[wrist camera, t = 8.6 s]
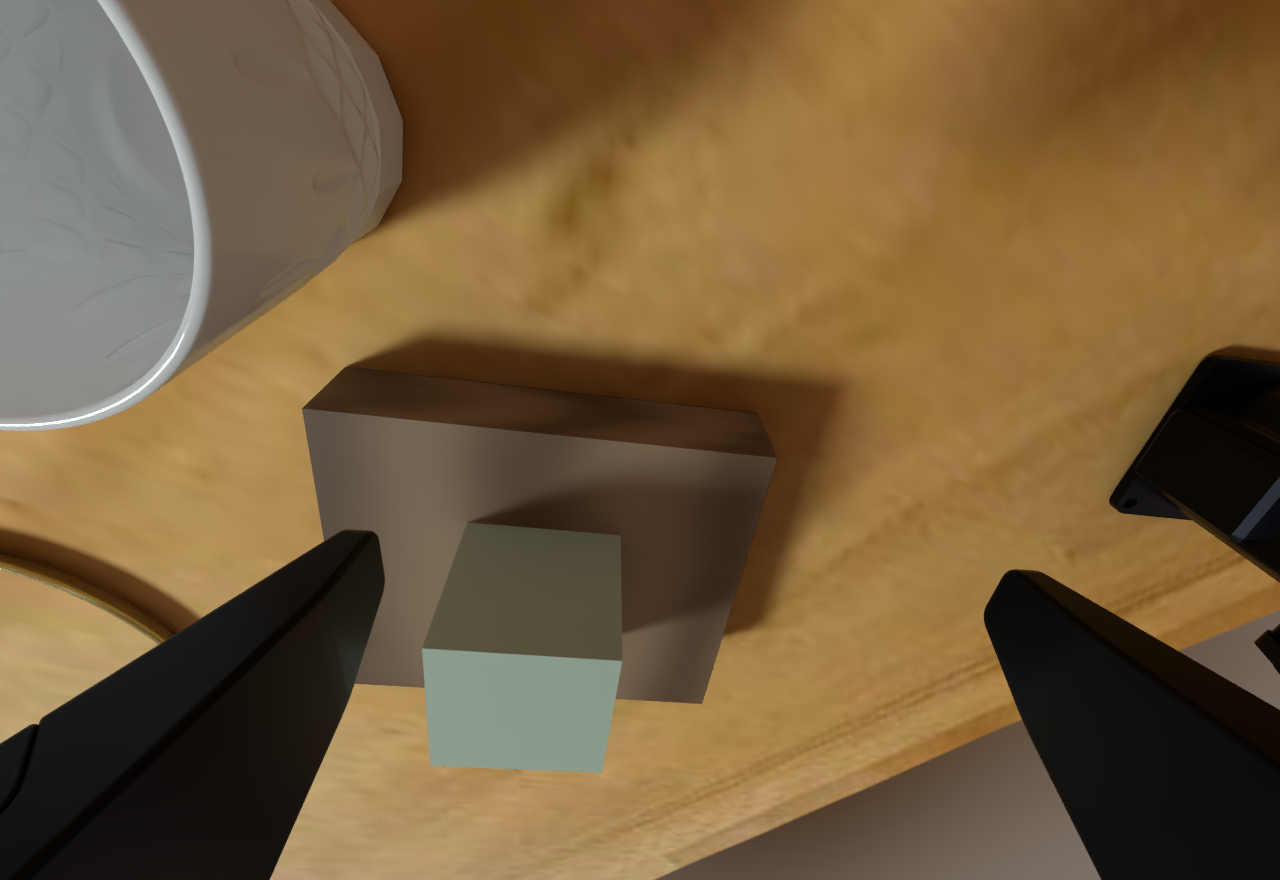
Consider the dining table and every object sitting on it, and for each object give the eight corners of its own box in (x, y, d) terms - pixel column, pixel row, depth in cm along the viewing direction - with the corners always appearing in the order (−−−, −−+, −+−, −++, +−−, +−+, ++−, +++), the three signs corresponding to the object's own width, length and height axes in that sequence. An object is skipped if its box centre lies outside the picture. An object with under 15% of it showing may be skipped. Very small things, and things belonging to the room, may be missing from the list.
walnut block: (756, 413, 20) (777, 458, 18) (693, 644, 26) (701, 703, 24) (345, 367, 19) (302, 408, 16) (375, 622, 25) (347, 683, 22)
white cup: (464, 38, 15) (248, -61, 6) (390, 312, 18) (185, 500, 9) (116, -150, 13) (-940, -692, 4) (107, 197, 16) (-474, 301, 8)
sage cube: (620, 535, 19) (622, 660, 15) (604, 639, 22) (601, 772, 17) (466, 522, 19) (421, 648, 14) (468, 629, 21) (430, 765, 17)
